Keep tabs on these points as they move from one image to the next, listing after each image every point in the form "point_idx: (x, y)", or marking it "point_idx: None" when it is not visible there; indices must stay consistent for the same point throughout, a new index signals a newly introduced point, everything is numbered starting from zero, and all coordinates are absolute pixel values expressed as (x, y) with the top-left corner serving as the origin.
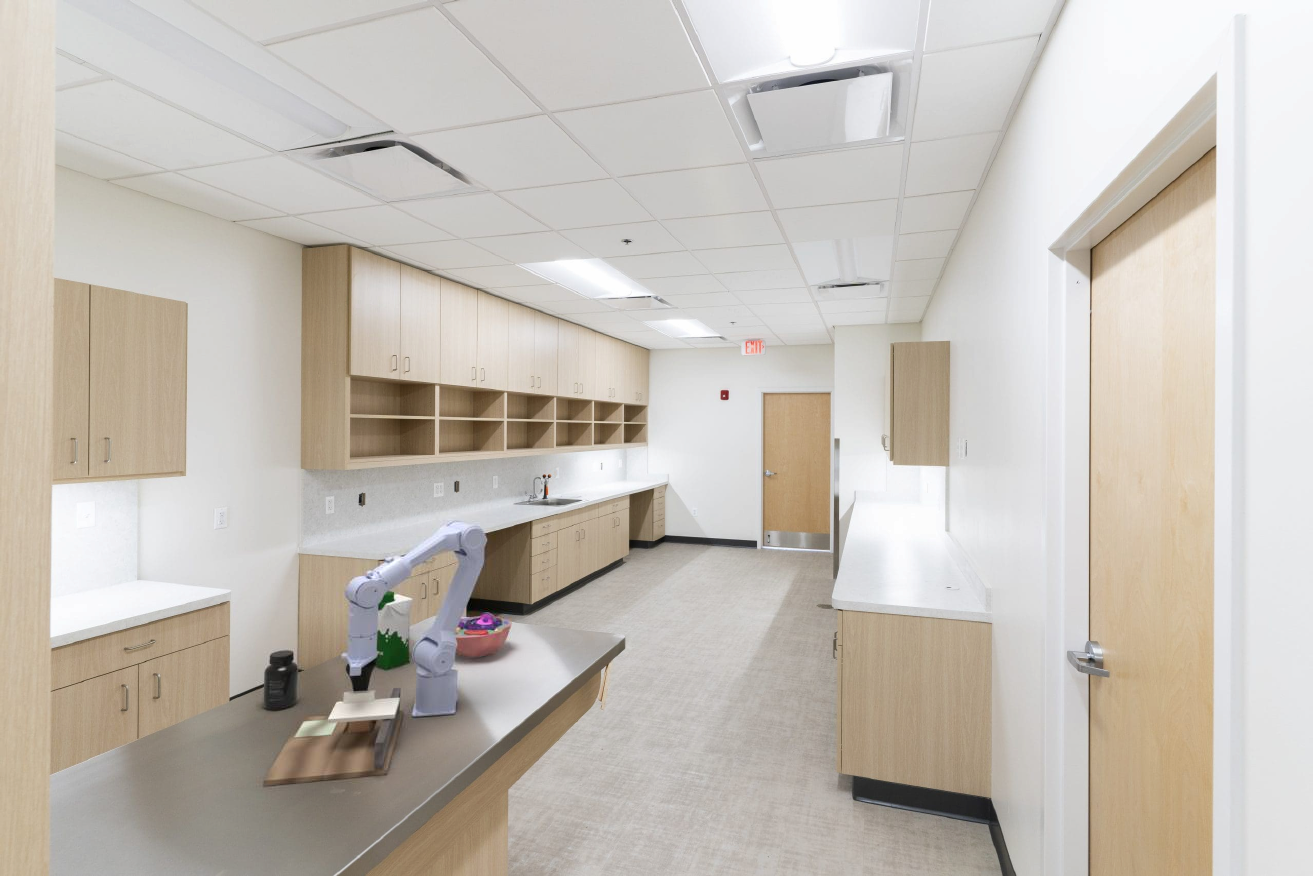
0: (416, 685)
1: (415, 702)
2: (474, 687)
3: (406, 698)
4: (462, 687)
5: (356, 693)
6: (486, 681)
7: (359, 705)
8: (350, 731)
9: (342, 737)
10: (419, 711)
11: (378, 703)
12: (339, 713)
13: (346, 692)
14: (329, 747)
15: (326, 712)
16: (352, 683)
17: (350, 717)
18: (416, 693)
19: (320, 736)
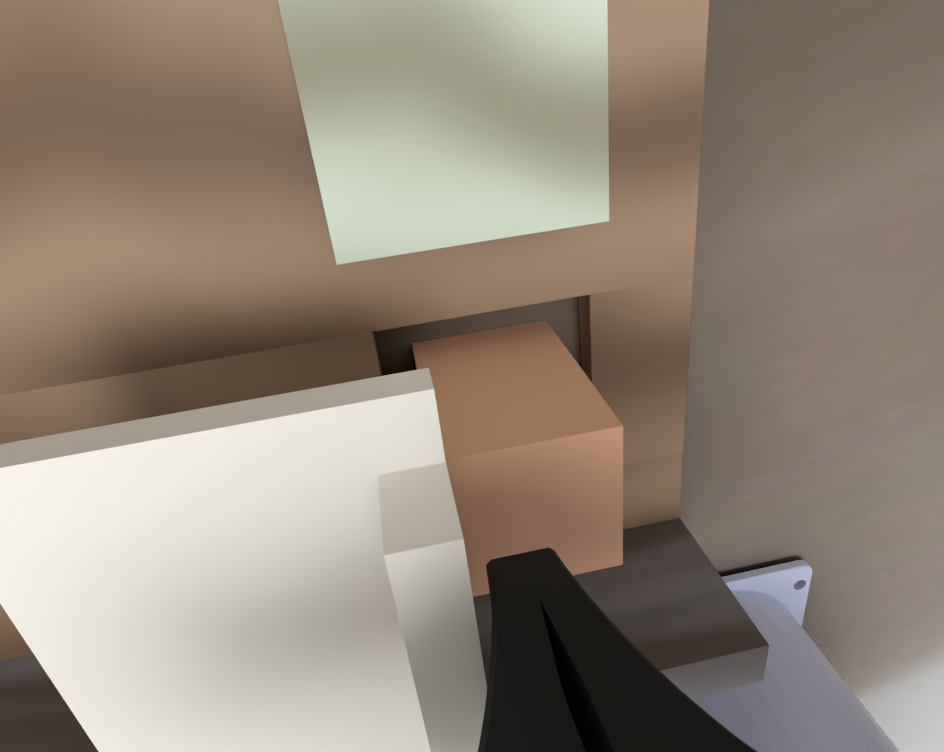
0: (779, 740)
1: (782, 574)
2: (887, 722)
3: (878, 494)
4: (908, 682)
5: (414, 665)
6: (932, 741)
7: (341, 625)
8: (416, 368)
9: (305, 357)
10: None
11: (391, 732)
12: (114, 536)
13: (444, 564)
14: (134, 324)
15: (837, 17)
16: (484, 716)
17: (40, 663)
18: (739, 693)
19: (312, 178)
